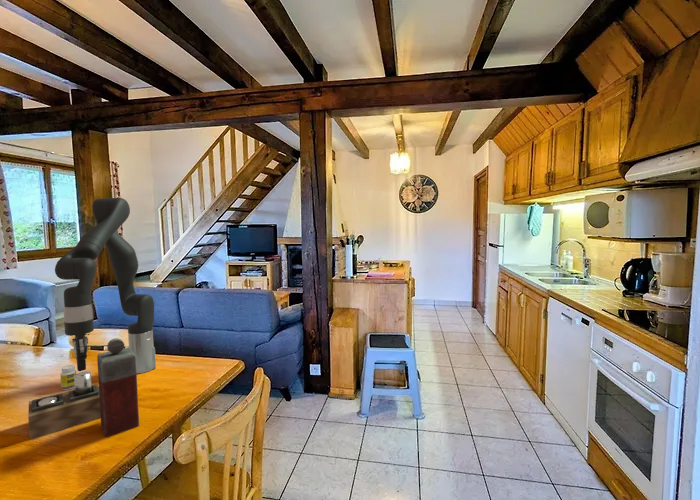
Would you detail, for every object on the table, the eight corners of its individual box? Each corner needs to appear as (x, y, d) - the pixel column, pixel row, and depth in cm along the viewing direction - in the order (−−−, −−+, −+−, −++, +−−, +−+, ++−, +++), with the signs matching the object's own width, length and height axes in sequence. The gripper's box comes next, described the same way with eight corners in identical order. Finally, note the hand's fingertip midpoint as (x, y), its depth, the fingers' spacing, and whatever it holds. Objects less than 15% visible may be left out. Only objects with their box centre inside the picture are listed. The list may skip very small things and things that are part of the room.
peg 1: (57, 415, 113) (56, 395, 113) (58, 421, 110) (57, 400, 109) (39, 420, 110) (38, 400, 110) (39, 426, 107) (38, 405, 106)
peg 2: (91, 389, 119) (89, 370, 118) (92, 394, 115) (91, 374, 115) (74, 393, 116) (73, 373, 115) (75, 398, 112) (74, 378, 112)
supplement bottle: (68, 391, 132) (66, 369, 132) (58, 390, 133) (56, 368, 133) (80, 385, 137) (78, 364, 136) (70, 384, 138) (69, 363, 137)
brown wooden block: (98, 403, 124) (97, 381, 123) (103, 416, 115) (102, 393, 114) (30, 422, 112) (28, 398, 111) (29, 439, 103) (28, 413, 102)
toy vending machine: (132, 411, 118) (128, 331, 116) (139, 426, 110) (135, 339, 107) (100, 421, 112) (95, 337, 110) (105, 437, 104) (99, 346, 101)
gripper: (95, 320, 111) (98, 373, 112) (90, 312, 121) (93, 361, 122) (65, 325, 106) (68, 380, 107) (63, 316, 116) (65, 367, 117)
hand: (81, 369), depth 115 cm, fingers closed
